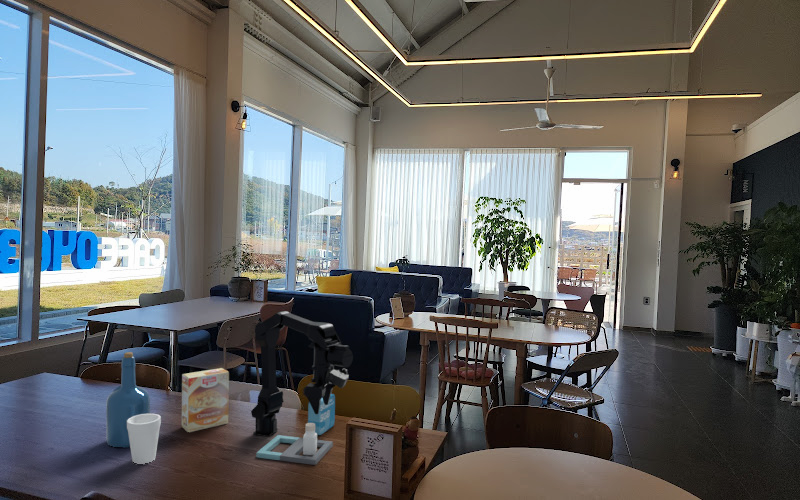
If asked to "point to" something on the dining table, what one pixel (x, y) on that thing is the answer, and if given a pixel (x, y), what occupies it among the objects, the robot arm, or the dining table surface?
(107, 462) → the dining table surface
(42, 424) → the dining table surface
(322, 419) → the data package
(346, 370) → the robot arm
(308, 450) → the white salt shaker
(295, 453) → the panel
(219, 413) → the coffeecake box
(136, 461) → the foam cup
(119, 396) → the wine bottle
